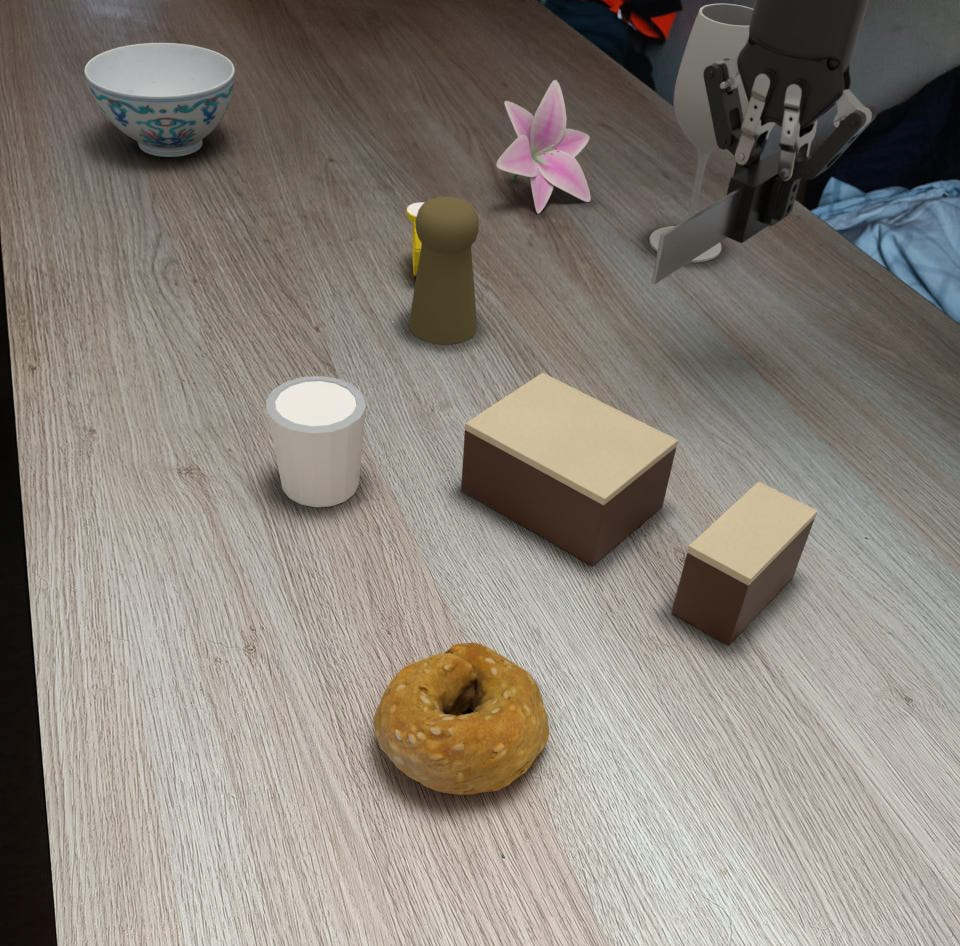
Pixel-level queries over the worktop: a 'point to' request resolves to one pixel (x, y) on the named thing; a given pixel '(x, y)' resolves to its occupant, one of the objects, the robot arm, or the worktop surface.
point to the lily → (546, 149)
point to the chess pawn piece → (445, 272)
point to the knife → (720, 219)
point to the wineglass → (709, 41)
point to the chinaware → (162, 93)
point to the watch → (414, 234)
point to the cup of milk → (317, 438)
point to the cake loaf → (567, 466)
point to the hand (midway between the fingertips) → (756, 215)
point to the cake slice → (742, 562)
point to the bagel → (462, 720)
